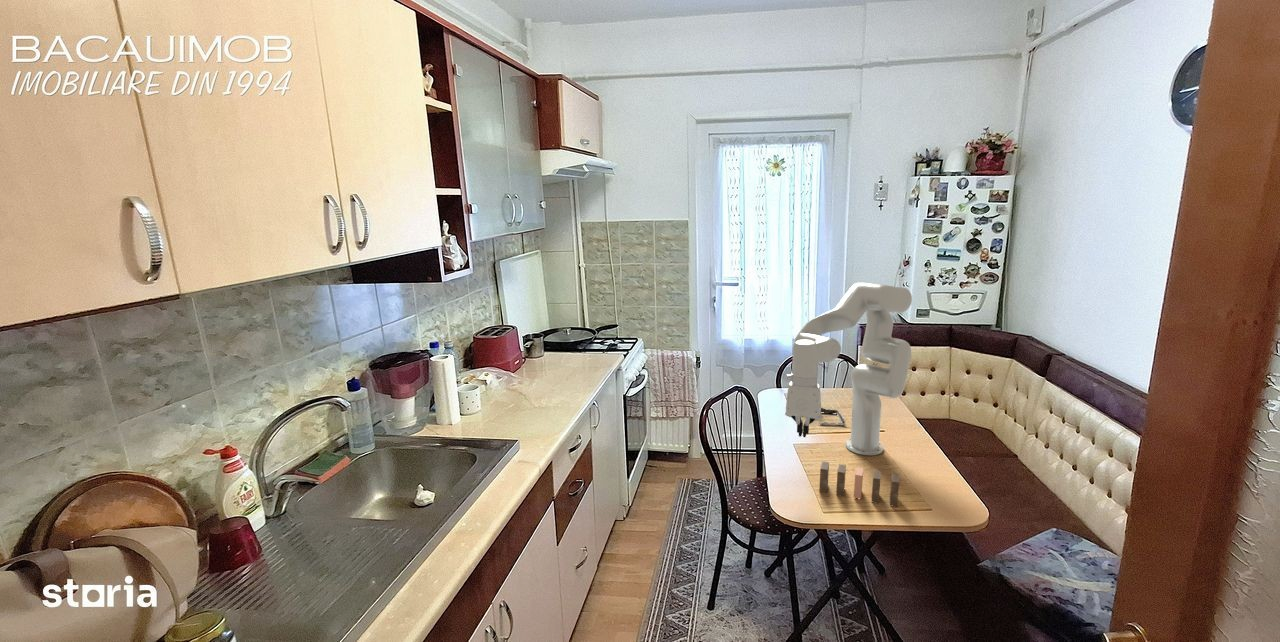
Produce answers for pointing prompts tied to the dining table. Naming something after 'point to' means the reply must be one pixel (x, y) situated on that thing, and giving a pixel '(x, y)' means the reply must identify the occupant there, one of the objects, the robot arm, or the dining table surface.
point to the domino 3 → (858, 482)
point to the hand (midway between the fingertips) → (802, 435)
